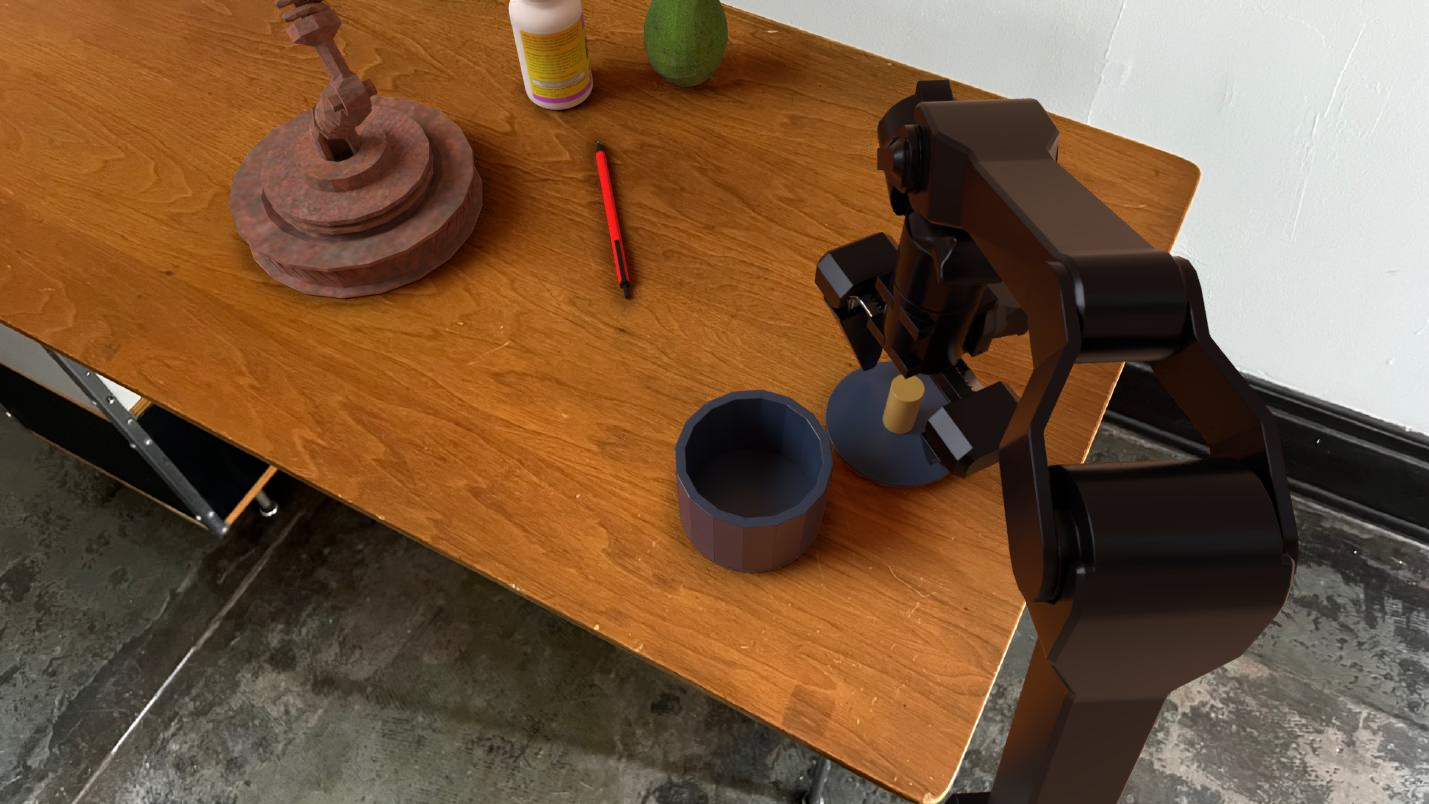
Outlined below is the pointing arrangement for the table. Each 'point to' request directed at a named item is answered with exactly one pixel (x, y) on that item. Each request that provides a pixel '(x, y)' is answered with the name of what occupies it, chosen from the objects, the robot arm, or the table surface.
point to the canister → (752, 479)
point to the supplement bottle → (552, 51)
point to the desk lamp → (354, 182)
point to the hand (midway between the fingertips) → (900, 413)
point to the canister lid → (884, 425)
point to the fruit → (685, 39)
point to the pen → (612, 221)
